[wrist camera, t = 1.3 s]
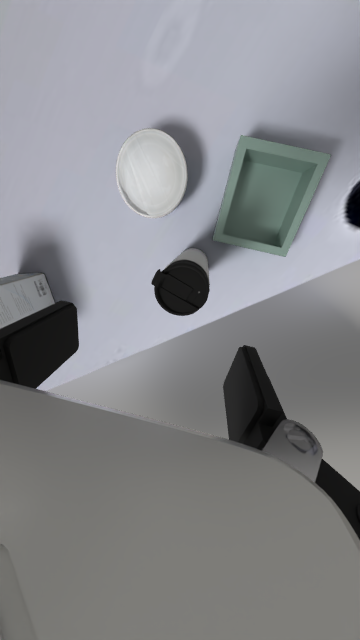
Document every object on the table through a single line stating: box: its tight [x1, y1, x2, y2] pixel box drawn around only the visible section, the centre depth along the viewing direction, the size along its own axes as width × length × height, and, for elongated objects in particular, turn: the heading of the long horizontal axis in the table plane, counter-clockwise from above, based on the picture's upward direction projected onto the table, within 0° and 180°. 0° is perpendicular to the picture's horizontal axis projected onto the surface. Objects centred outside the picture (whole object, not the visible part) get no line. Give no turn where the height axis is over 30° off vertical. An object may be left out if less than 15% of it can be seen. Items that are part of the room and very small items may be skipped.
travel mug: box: [151, 248, 210, 316], centre depth 29 cm, size 6×7×20 cm
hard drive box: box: [0, 273, 55, 329], centre depth 38 cm, size 16×8×20 cm, turn 3°
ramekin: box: [116, 128, 188, 218], centre depth 30 cm, size 11×11×5 cm
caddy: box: [212, 135, 331, 257], centre depth 30 cm, size 13×12×5 cm
